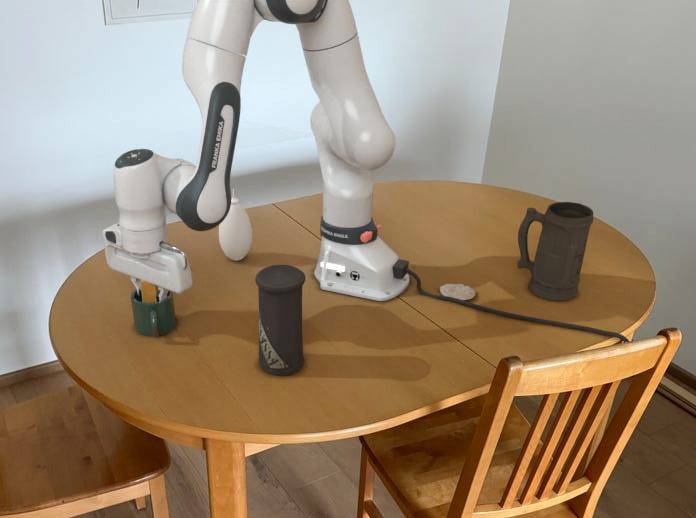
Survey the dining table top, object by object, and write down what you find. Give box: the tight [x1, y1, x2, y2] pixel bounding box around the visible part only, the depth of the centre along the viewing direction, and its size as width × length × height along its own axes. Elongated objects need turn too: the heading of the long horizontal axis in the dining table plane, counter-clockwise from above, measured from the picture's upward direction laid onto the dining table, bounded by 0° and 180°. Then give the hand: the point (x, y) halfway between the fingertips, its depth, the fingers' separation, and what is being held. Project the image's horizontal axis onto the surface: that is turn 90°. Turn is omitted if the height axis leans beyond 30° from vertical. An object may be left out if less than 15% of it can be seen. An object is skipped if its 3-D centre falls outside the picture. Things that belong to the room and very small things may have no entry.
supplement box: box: [141, 280, 161, 303], centre depth 146 cm, size 3×3×10 cm
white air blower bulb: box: [218, 188, 253, 262], centre depth 170 cm, size 8×8×18 cm
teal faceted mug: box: [130, 288, 177, 339], centre depth 146 cm, size 12×8×8 cm
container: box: [254, 264, 306, 377], centre depth 132 cm, size 9×9×20 cm
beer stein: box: [516, 201, 594, 302], centre depth 159 cm, size 15×11×20 cm
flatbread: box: [439, 283, 476, 301], centre depth 161 cm, size 8×8×1 cm
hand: (152, 298), depth 146 cm, fingers closed on supplement box, 4 cm apart
